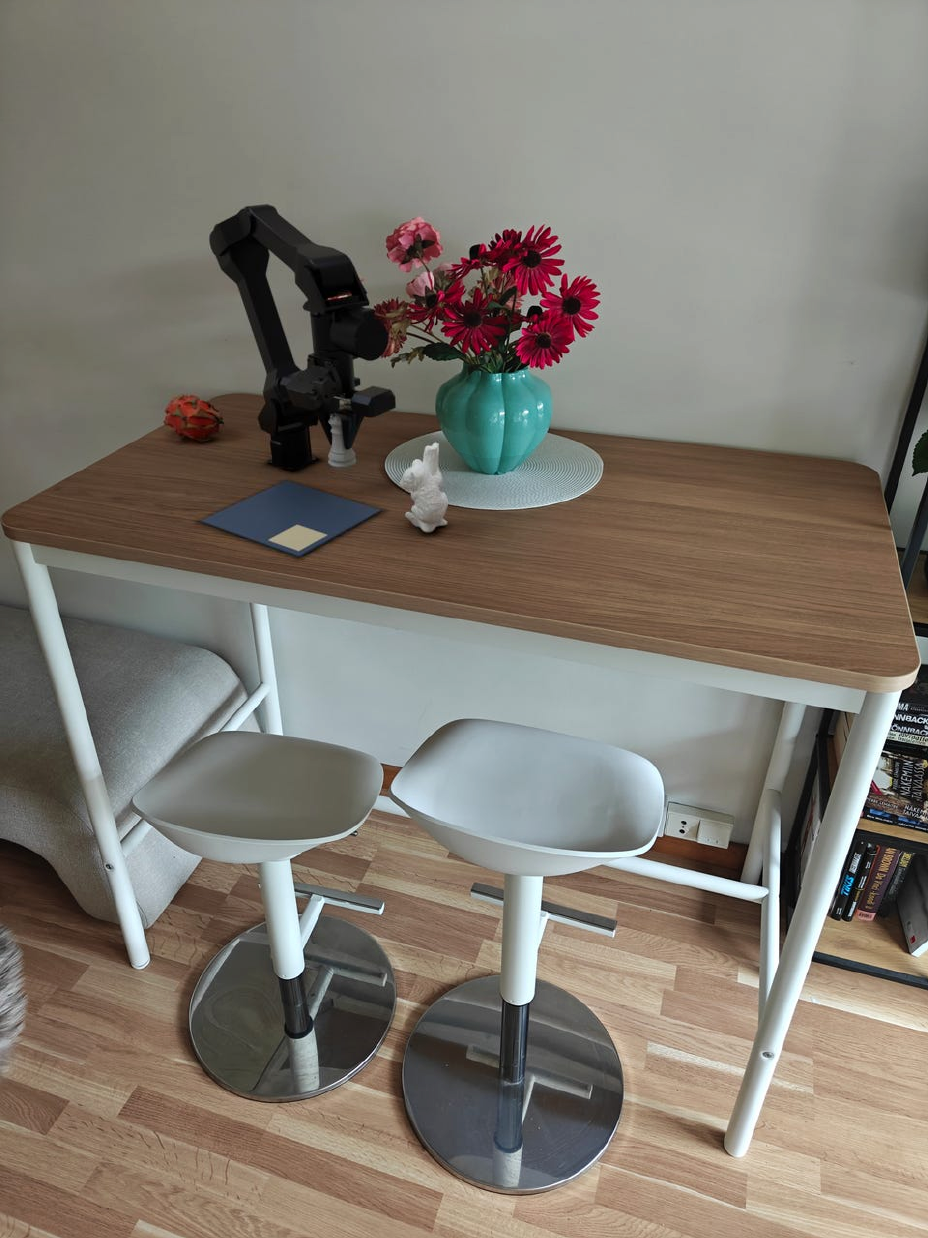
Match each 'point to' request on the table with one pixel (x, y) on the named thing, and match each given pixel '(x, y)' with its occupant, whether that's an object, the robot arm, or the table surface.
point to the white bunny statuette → (426, 491)
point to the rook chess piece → (339, 446)
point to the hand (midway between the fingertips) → (340, 446)
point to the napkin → (291, 518)
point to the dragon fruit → (192, 417)
